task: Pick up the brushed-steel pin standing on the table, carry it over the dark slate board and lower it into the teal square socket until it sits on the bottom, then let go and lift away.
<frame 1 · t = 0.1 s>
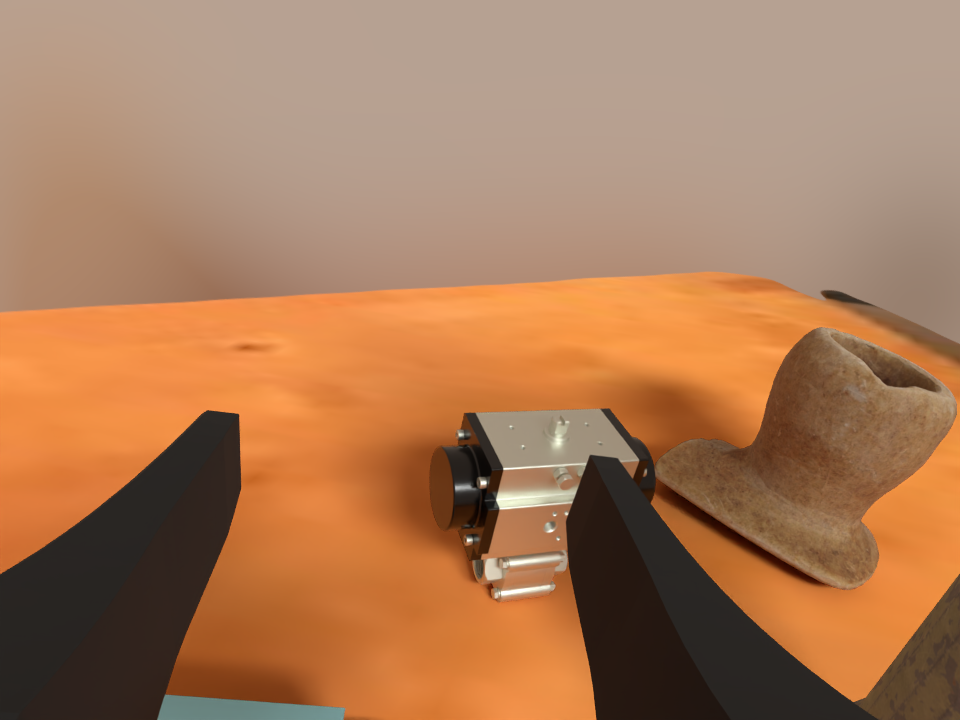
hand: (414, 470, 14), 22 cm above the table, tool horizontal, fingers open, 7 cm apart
pneumatic valve: (515, 587, 40), on the table
brown upright piece: (763, 518, 50), on the table
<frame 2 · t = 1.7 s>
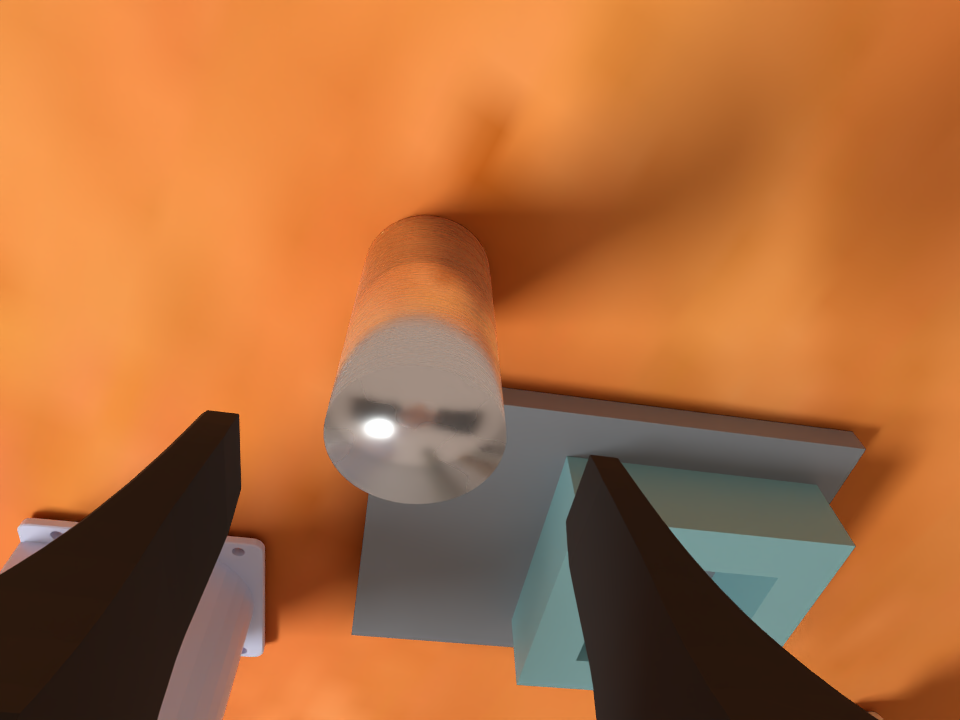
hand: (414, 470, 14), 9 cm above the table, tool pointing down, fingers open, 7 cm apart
pin: (427, 274, 21), on the table
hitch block: (646, 539, 29), on the table
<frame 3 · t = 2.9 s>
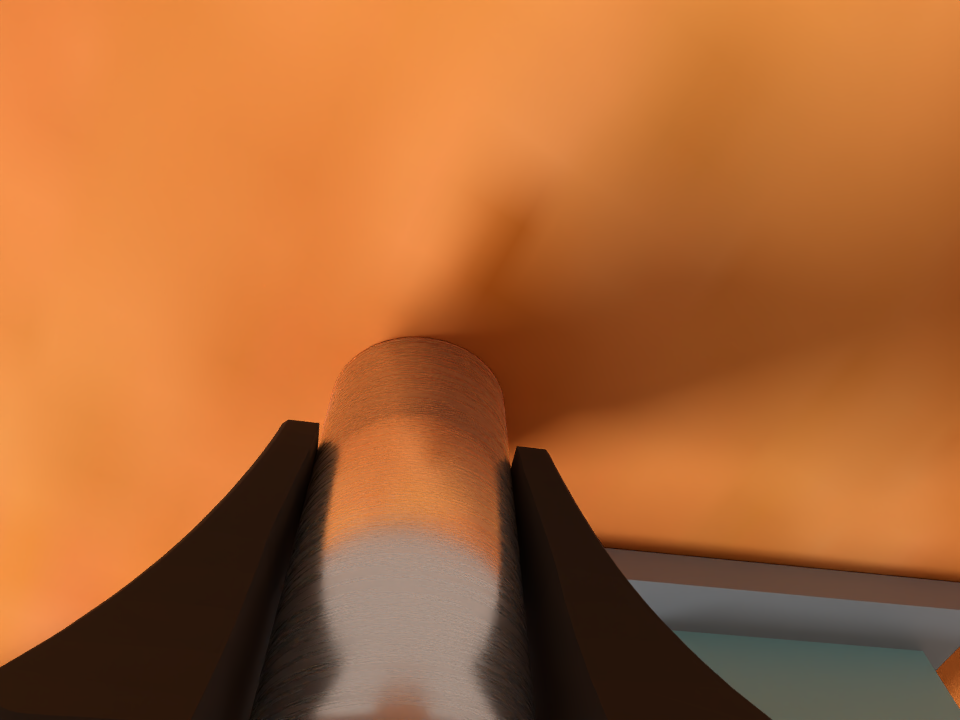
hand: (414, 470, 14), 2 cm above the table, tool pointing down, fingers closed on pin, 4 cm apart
pin: (418, 410, 15), on the table, touching gripper
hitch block: (696, 697, 23), on the table
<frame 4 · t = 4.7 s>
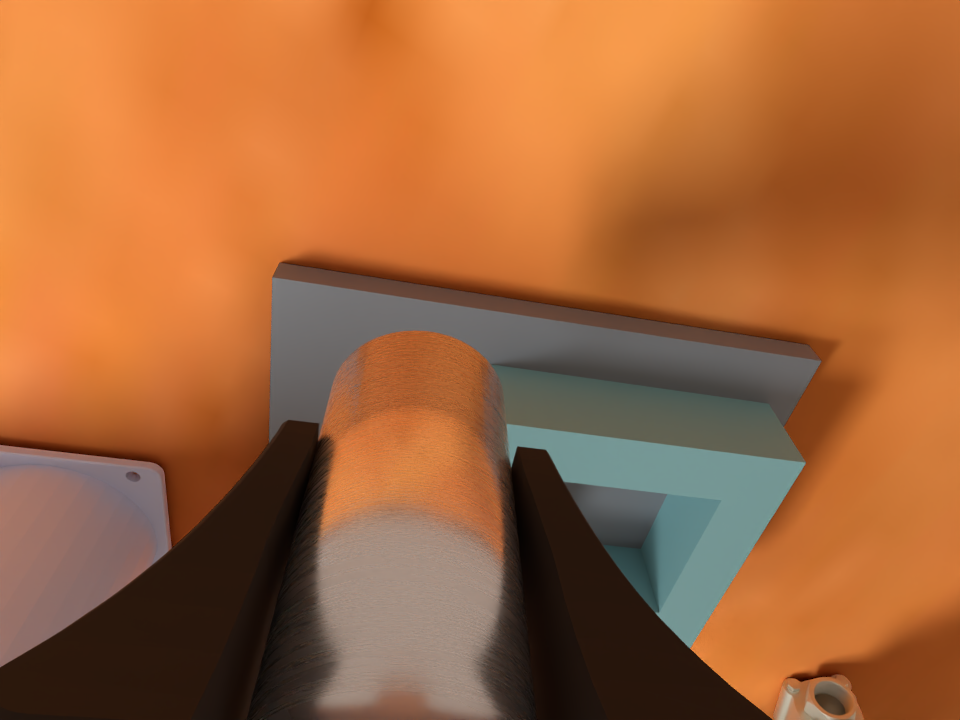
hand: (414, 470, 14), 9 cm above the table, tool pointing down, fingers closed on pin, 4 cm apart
pin: (418, 403, 15), point 7 cm above the table, touching gripper
pneumatic valve: (797, 689, 36), on the table
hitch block: (586, 470, 26), on the table
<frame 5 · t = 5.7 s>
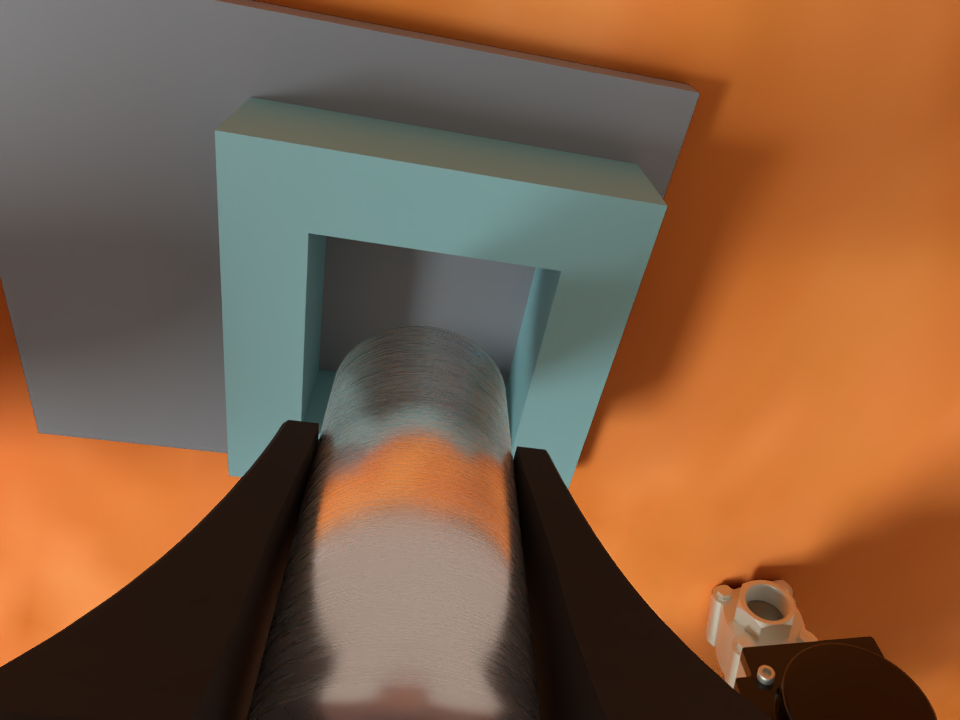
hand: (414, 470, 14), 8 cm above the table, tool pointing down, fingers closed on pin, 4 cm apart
pin: (419, 399, 15), point 6 cm above the table, touching gripper
pneumatic valve: (732, 601, 30), on the table
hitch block: (426, 285, 21), on the table
when the fingers open (5 cm above the table, at t = 6.6 s): pin drops 2 cm, resting on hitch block.
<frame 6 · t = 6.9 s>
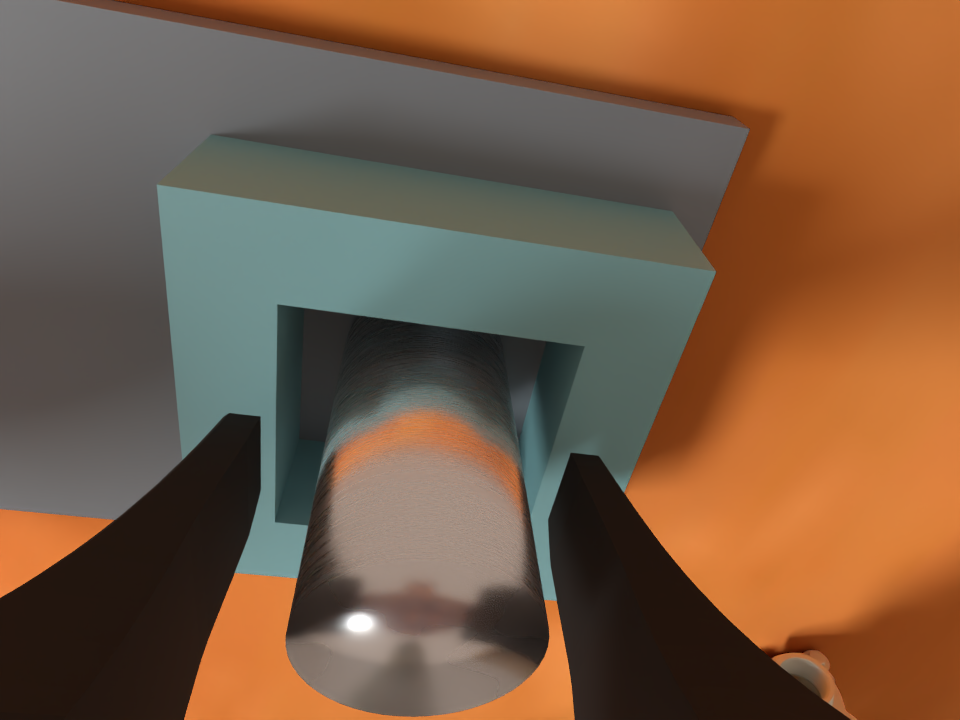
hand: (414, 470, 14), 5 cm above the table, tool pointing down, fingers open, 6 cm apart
pin: (424, 358, 17), point 1 cm above the table, touching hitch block
pneumatic valve: (761, 670, 28), on the table
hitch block: (423, 343, 18), on the table
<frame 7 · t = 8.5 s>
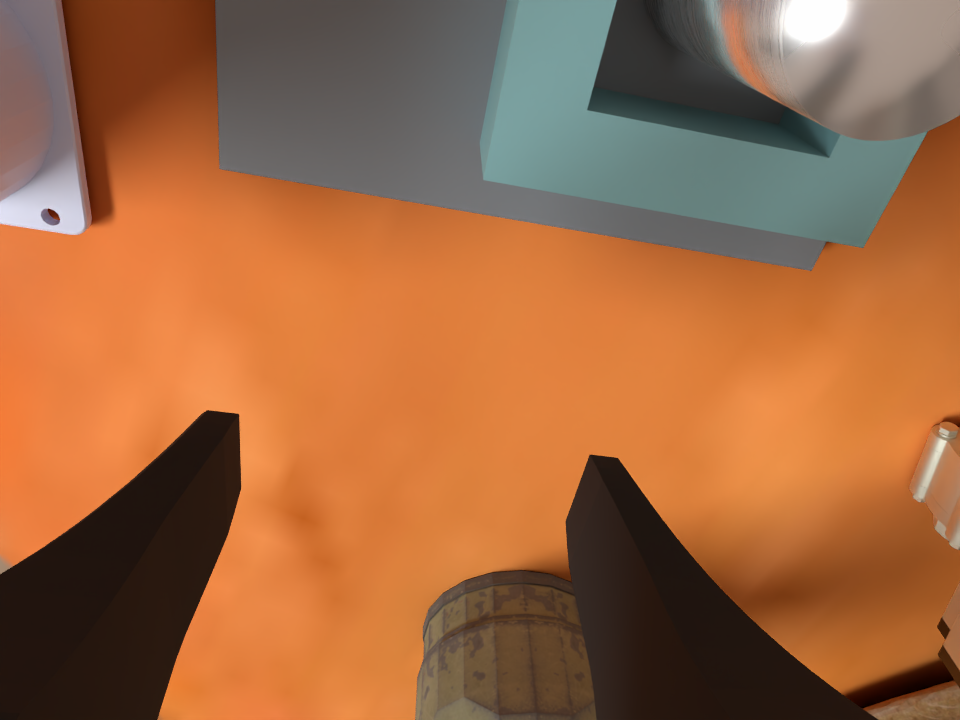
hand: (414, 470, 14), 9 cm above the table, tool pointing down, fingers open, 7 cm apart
pneumatic valve: (944, 449, 27), on the table
thermos: (510, 623, 33), on the table
brown upright piece: (886, 719, 39), on the table
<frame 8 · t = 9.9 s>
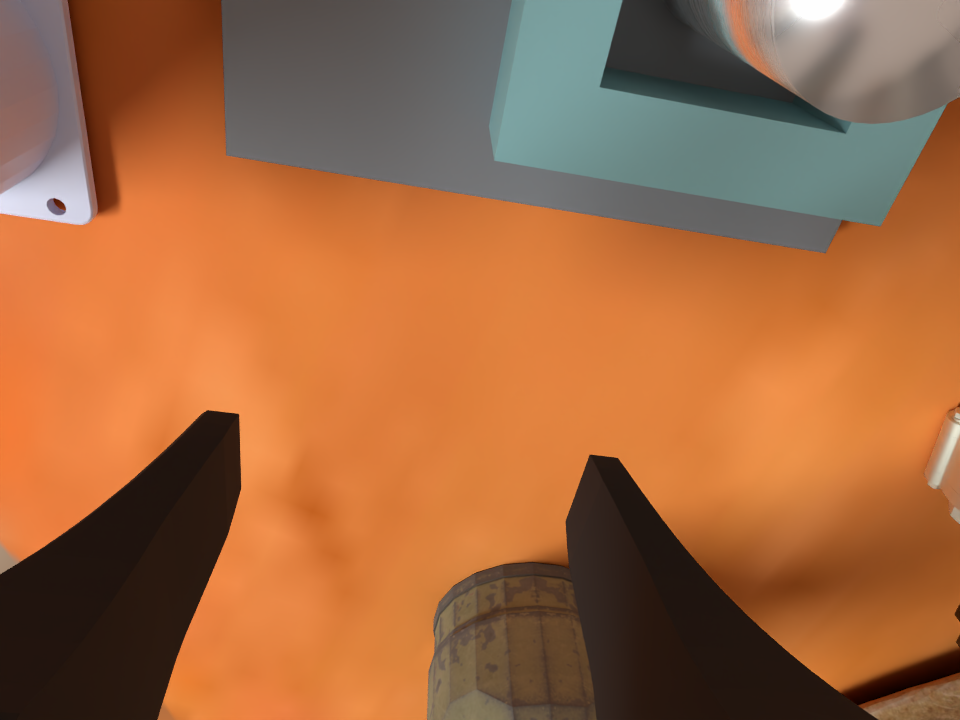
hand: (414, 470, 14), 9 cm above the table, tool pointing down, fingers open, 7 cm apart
pneumatic valve: (959, 435, 27), on the table
thermos: (521, 616, 32), on the table
brown upright piece: (900, 710, 39), on the table
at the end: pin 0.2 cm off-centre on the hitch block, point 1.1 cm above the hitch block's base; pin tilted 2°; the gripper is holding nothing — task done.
